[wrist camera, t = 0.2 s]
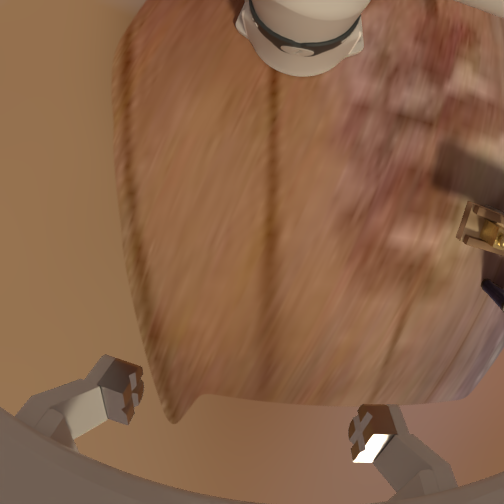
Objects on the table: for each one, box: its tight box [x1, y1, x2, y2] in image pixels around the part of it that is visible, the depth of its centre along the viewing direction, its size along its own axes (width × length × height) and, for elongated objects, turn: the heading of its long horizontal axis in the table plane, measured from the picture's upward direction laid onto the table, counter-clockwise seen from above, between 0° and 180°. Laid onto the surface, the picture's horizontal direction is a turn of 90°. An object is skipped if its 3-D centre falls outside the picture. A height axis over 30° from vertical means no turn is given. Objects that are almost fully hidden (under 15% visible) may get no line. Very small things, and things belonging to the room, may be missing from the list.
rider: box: [479, 219, 504, 251], centre depth 33 cm, size 3×3×5 cm
